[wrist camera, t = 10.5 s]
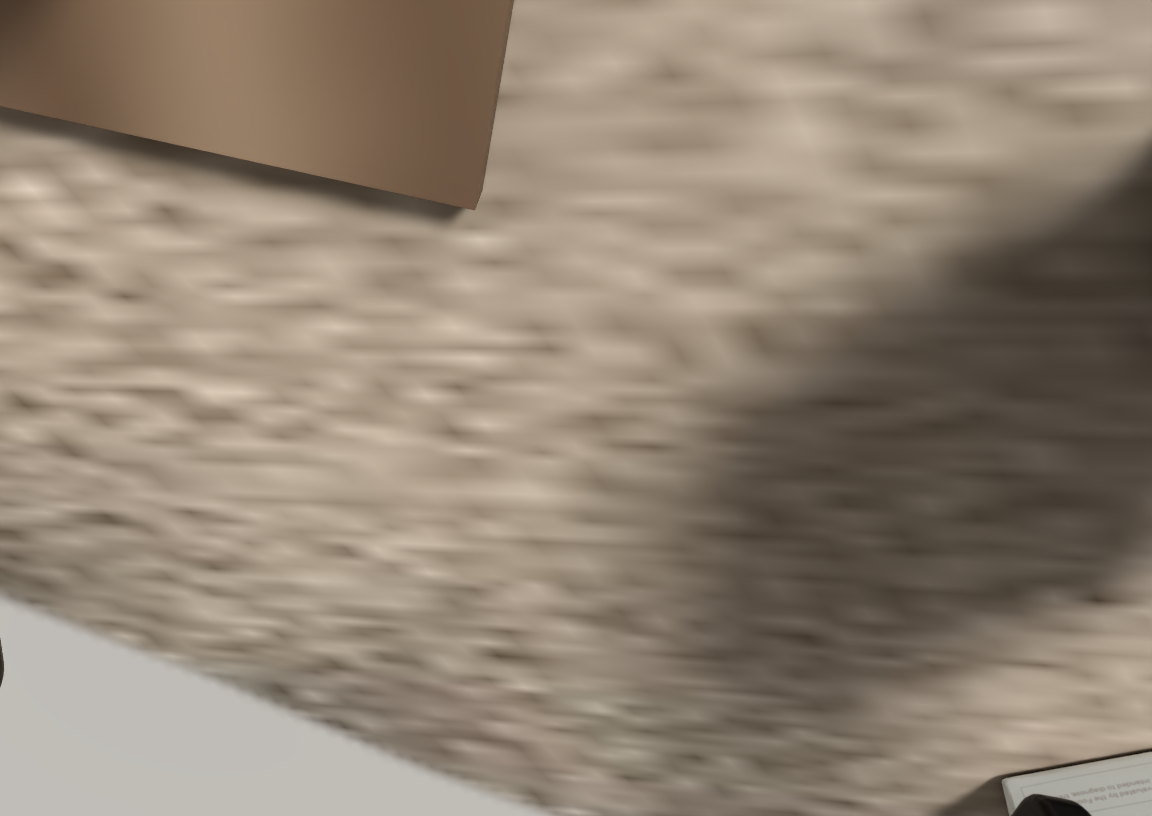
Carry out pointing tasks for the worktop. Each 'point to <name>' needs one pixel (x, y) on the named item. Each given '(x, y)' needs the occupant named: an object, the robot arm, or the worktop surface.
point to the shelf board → (276, 81)
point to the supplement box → (1092, 786)
